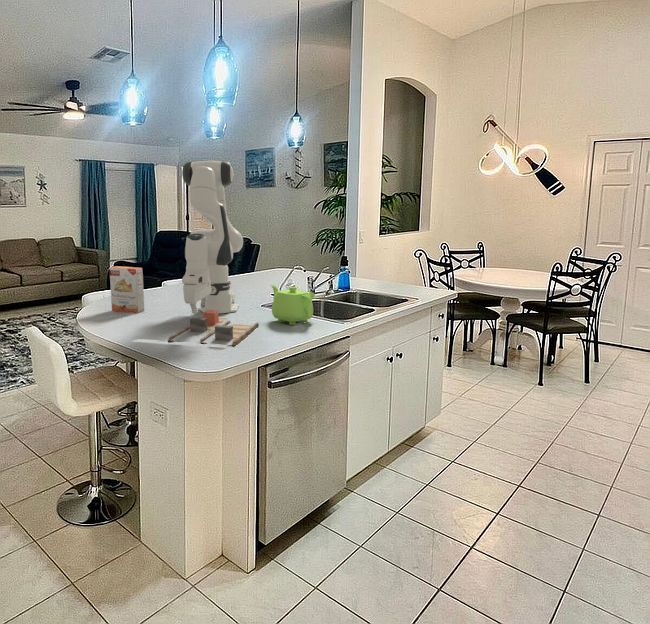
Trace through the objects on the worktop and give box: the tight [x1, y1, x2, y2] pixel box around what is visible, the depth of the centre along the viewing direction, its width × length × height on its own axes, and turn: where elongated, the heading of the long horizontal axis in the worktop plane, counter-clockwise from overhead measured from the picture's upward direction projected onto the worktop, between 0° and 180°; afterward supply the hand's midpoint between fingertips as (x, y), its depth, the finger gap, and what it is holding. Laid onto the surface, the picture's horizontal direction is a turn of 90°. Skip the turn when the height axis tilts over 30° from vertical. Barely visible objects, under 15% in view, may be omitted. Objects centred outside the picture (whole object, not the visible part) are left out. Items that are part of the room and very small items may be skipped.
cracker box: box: [109, 265, 145, 314], centre depth 256 cm, size 14×6×21 cm, turn 76°
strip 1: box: [187, 317, 228, 334], centre depth 229 cm, size 26×8×6 cm, turn 171°
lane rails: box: [168, 320, 260, 347], centre depth 219 cm, size 32×26×2 cm
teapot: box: [270, 284, 316, 326], centre depth 246 cm, size 25×22×16 cm
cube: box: [202, 310, 220, 325], centre depth 232 cm, size 5×5×5 cm
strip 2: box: [212, 324, 252, 342], centre depth 218 cm, size 26×8×6 cm, turn 171°
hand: (199, 310), depth 218 cm, fingers open, 8 cm apart
